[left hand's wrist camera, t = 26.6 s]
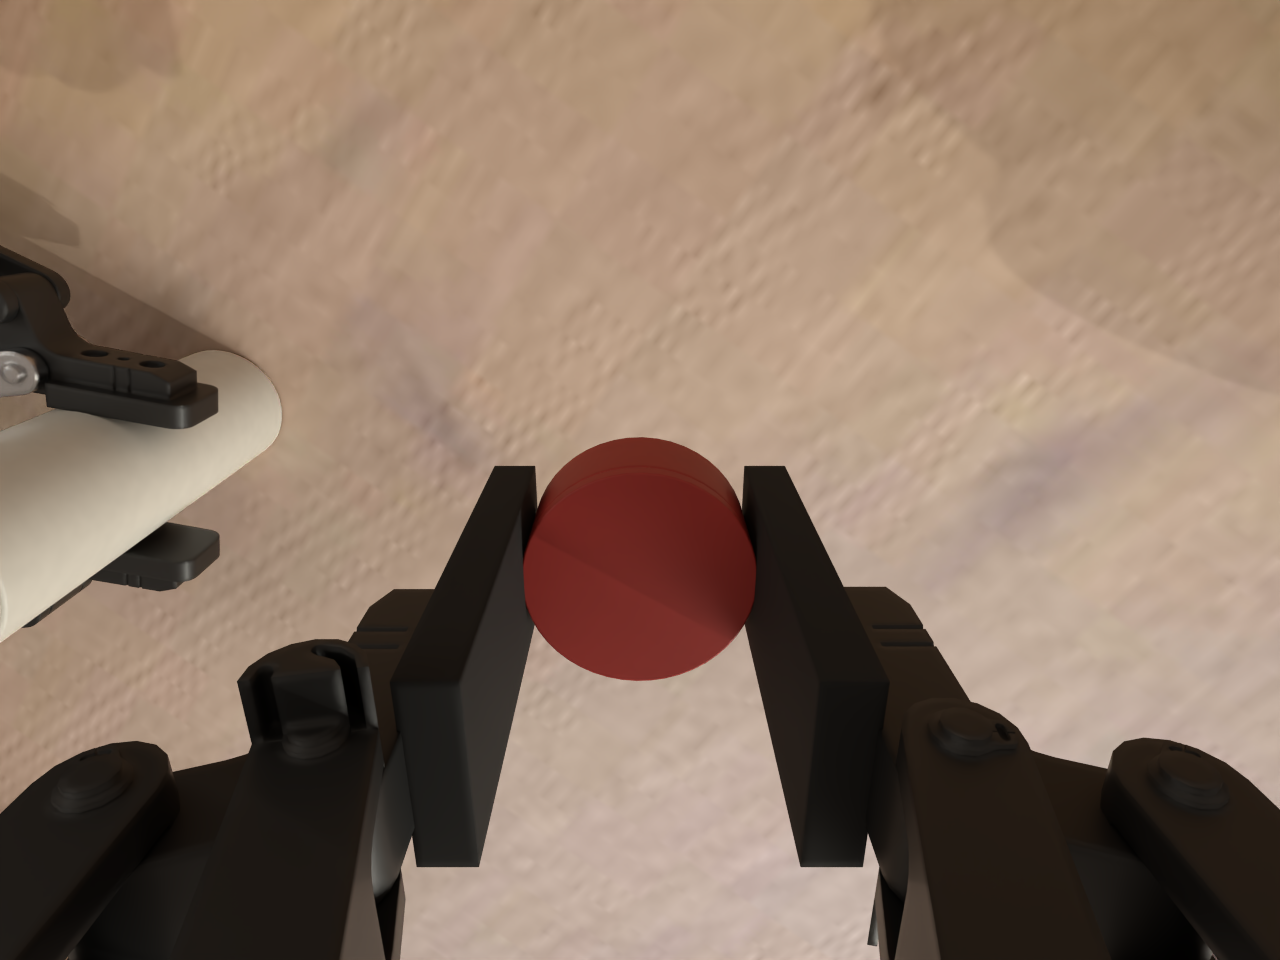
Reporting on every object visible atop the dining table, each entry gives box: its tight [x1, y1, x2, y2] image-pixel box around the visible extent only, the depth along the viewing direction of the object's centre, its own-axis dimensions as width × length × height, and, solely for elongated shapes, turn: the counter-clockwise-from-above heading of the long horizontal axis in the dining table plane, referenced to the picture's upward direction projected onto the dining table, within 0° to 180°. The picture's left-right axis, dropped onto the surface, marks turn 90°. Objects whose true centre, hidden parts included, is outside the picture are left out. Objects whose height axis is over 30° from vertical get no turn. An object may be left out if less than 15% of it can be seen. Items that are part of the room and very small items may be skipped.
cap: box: [523, 437, 756, 681], centre depth 14 cm, size 4×4×2 cm
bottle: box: [0, 350, 282, 643], centre depth 21 cm, size 4×4×19 cm
